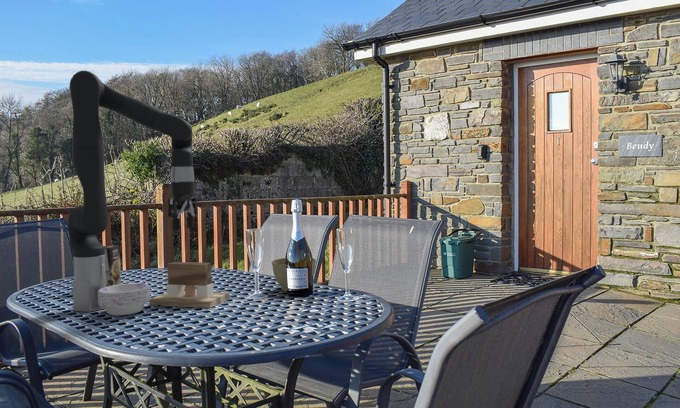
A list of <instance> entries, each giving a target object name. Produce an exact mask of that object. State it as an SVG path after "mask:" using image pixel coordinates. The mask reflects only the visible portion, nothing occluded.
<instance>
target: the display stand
mask: <svg viewBox="0 0 680 408" xmlns="http://www.w3.org/2000/svg"><path fill="white" fill-rule="evenodd" d="M230 293H231V292H222V291H221V292H219V291H214V283H212V284H209V285H207V286H196V285H169V284H168V283H167V284H166V292H165V293H162V294H159V295H156V296H154V297H150V301H149V306H158V305H160V307H164V306H165V307H177V308H179V307H180V308H181V307H182V308H198V309H199V308H201V309H212V308H213V307H216V306H217V305H220V304H222V303H224V302H226V301H228V300H229V299H231V295H230Z"/></svg>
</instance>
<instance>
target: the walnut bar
mask: <svg viewBox="0 0 680 408" xmlns="http://www.w3.org/2000/svg"><path fill="white" fill-rule="evenodd" d="M166 265H167V266H166V267H167V284H169V285H184V286H185V285H195V287H196V286H207V285H209V284H213V283H212V277H213V275H212V262H197V261H195V262H193V261H192V262H190V261H173V262H169V263H166Z"/></svg>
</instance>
